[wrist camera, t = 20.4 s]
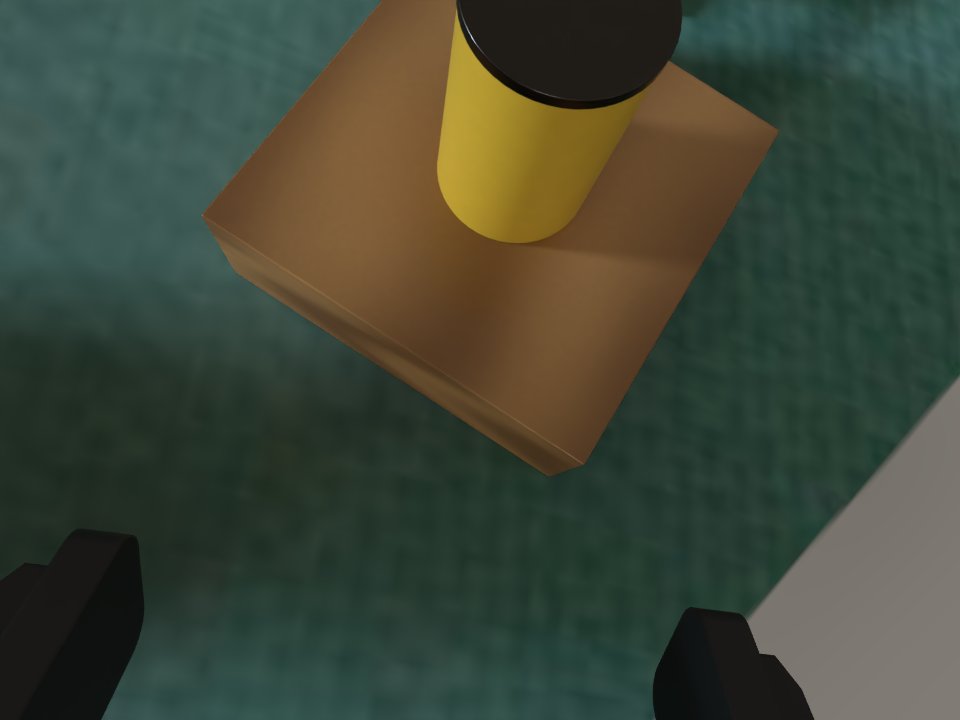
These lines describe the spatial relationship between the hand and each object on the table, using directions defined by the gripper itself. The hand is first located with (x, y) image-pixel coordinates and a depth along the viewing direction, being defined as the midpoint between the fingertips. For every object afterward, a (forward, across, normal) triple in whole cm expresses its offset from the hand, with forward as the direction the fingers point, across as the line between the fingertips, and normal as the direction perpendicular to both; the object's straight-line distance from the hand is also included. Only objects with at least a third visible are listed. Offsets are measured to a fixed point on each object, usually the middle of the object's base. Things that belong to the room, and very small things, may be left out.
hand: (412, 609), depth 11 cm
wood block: (+20, -2, +1) cm, 20 cm away
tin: (+16, -2, -2) cm, 16 cm away
